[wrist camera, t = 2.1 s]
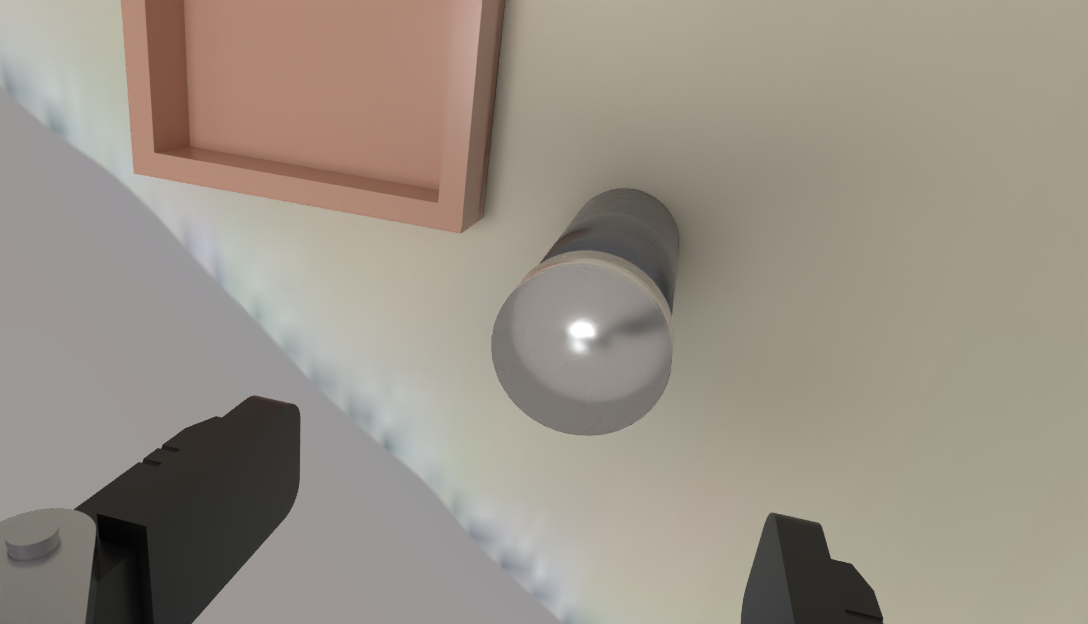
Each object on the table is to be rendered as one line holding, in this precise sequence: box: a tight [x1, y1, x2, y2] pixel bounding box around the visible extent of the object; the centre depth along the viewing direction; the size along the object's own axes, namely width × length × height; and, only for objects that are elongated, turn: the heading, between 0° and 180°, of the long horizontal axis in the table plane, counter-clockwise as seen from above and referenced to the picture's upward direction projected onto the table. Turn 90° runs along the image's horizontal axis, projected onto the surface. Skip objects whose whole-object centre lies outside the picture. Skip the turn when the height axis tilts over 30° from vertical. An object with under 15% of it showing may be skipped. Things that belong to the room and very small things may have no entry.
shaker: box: [491, 189, 679, 436], centre depth 24 cm, size 5×5×12 cm
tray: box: [121, 0, 505, 233], centre depth 27 cm, size 14×12×3 cm
